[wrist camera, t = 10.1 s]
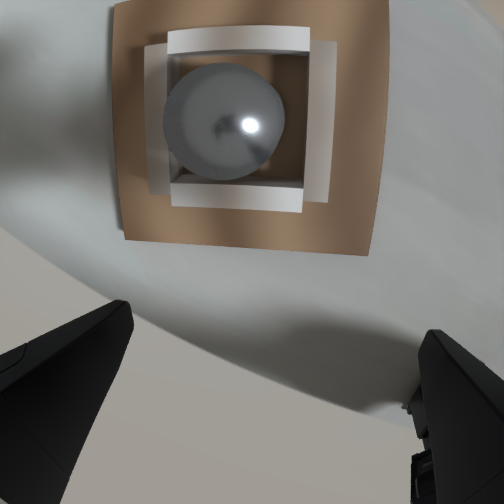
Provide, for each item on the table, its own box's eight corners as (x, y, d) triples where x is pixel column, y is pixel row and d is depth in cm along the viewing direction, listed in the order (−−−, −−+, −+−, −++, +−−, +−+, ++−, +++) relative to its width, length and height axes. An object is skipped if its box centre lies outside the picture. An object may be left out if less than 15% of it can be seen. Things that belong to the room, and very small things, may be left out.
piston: (287, 75, 14) (284, 63, 10) (283, 160, 16) (279, 183, 12) (199, 74, 15) (162, 66, 10) (199, 156, 17) (164, 178, 12)
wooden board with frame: (383, 2, 12) (399, -14, 9) (364, 248, 19) (375, 273, 16) (122, 7, 14) (96, -3, 11) (131, 233, 20) (110, 253, 18)
